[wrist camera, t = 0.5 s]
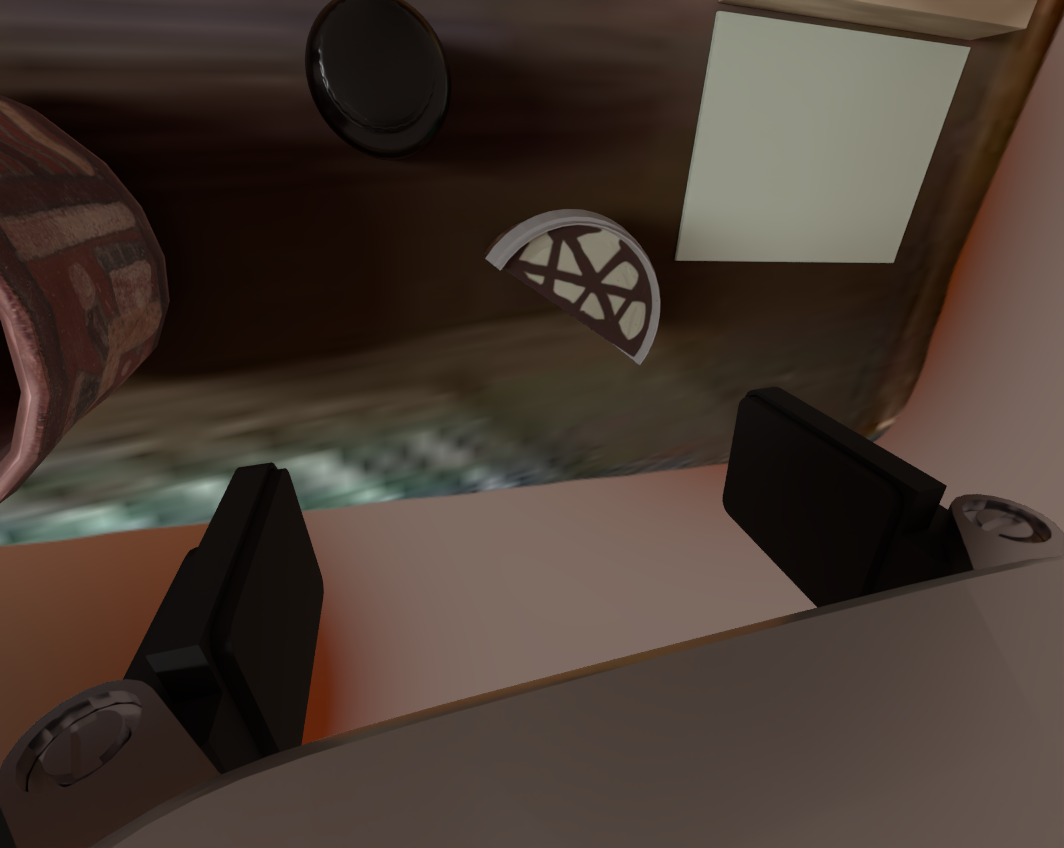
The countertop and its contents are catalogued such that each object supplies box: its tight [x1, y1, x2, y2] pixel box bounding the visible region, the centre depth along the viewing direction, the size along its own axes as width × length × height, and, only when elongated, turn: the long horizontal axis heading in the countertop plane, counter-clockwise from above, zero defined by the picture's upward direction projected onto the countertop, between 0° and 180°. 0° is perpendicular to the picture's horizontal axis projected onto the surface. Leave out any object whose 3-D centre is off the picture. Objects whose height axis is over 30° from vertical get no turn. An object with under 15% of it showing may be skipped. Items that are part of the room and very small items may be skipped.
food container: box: [485, 209, 660, 365], centre depth 34 cm, size 12×6×10 cm, turn 55°
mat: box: [675, 11, 970, 263], centre depth 40 cm, size 16×22×1 cm
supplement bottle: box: [305, 0, 451, 160], centre depth 26 cm, size 7×7×12 cm
